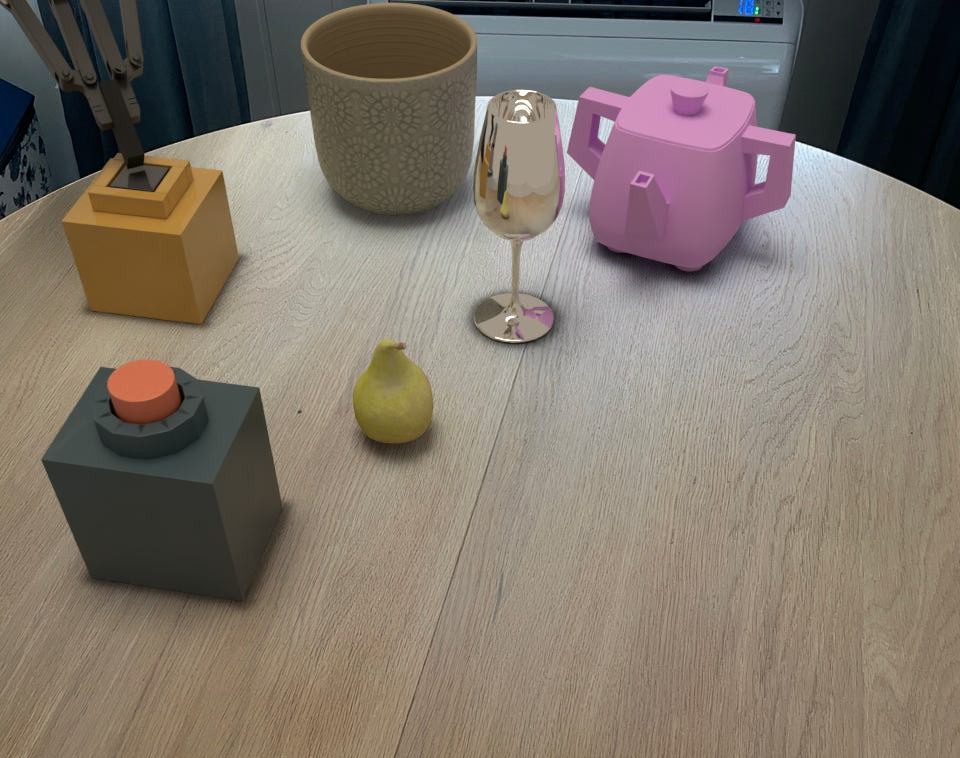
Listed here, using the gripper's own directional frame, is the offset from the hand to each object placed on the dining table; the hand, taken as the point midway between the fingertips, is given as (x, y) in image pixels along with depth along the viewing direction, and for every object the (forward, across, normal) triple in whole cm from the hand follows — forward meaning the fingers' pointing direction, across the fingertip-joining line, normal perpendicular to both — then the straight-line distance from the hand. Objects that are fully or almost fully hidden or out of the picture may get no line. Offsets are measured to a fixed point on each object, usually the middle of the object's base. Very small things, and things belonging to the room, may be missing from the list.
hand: (135, 161), depth 95 cm
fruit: (+30, -10, +13) cm, 34 cm away
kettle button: (+2, 0, -2) cm, 3 cm away
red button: (+23, +9, +25) cm, 35 cm away
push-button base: (+9, 0, -8) cm, 12 cm away
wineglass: (+24, -27, +6) cm, 36 cm away
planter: (+5, -27, -12) cm, 30 cm away
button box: (+33, +9, +15) cm, 37 cm away
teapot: (+20, -48, +2) cm, 52 cm away
